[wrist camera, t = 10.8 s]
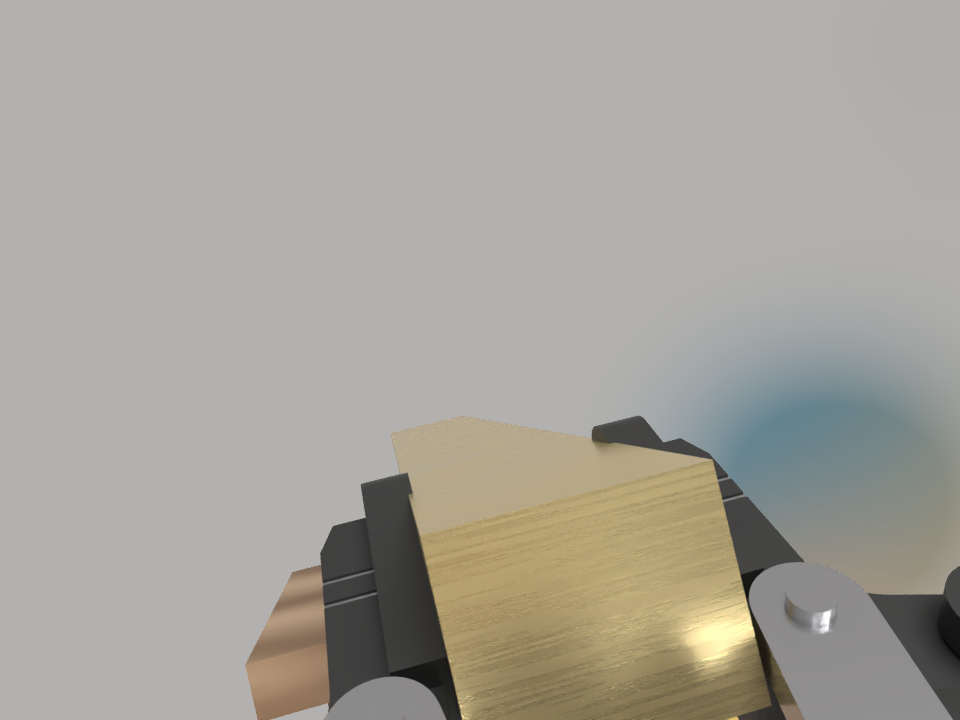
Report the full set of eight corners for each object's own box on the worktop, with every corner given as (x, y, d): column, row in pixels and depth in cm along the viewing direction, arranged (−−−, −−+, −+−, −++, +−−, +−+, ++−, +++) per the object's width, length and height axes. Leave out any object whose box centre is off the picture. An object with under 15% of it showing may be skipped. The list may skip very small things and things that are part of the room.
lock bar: (404, 493, 31) (390, 433, 31) (476, 475, 31) (462, 415, 31) (480, 795, 7) (419, 535, 7) (772, 705, 8) (713, 459, 8)
